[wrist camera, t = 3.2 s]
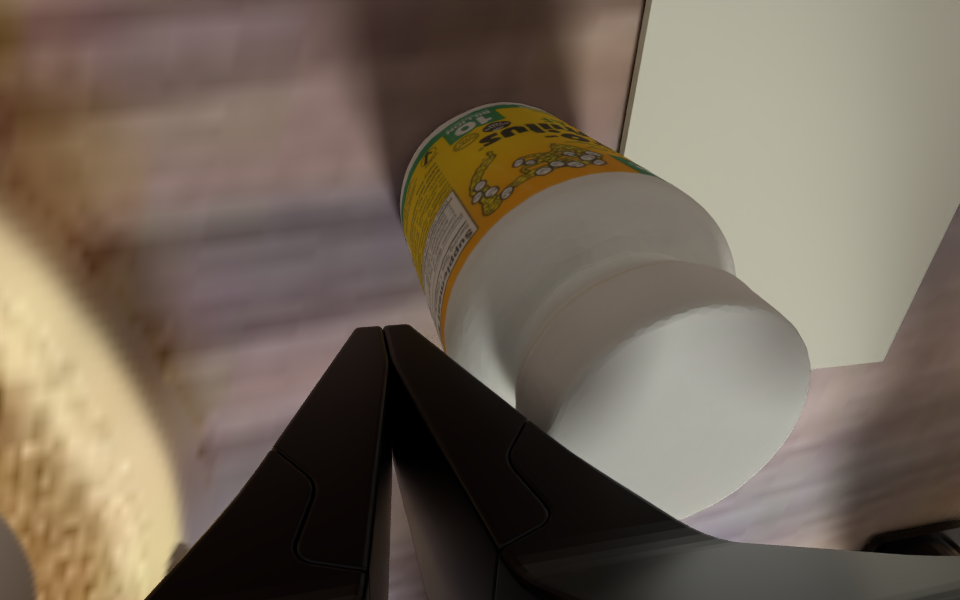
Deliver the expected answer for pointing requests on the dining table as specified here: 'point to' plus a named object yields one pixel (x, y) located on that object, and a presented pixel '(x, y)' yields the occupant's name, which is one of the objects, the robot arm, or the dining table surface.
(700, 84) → the mat
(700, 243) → the supplement bottle
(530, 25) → the dining table surface
